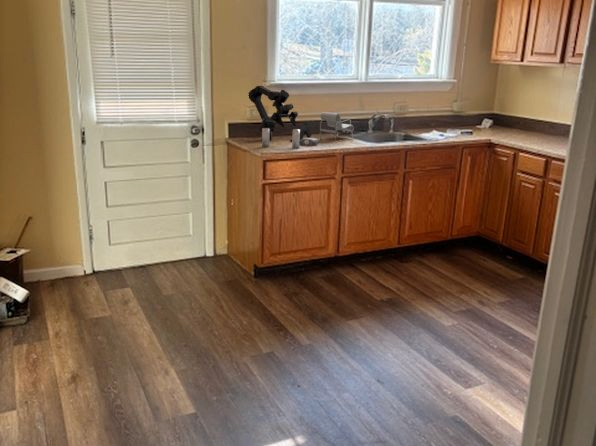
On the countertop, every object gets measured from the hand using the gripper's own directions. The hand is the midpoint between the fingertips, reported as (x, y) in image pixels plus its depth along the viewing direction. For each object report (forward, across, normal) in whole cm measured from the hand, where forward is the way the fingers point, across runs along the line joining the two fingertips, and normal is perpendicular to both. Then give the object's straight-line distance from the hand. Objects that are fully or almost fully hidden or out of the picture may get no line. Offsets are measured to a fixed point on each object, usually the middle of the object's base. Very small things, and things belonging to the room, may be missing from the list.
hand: (289, 126), depth 377 cm
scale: (+8, +18, +10) cm, 22 cm away
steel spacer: (+15, 0, +4) cm, 15 cm away
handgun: (-5, +28, +24) cm, 37 cm away
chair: (+2, +50, +17) cm, 53 cm away
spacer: (+6, -16, +12) cm, 21 cm away
